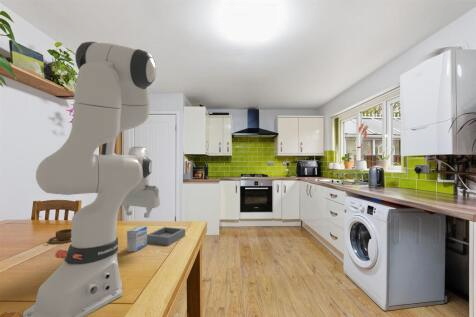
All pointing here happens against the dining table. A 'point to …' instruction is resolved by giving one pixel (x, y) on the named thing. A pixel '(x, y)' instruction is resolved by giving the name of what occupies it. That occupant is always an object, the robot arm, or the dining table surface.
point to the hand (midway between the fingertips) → (137, 216)
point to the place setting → (61, 237)
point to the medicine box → (136, 238)
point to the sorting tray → (165, 236)
